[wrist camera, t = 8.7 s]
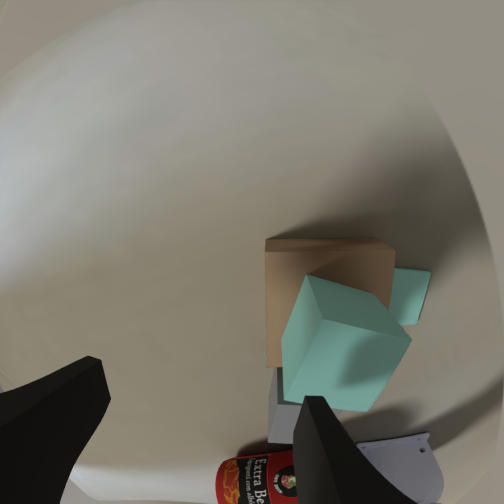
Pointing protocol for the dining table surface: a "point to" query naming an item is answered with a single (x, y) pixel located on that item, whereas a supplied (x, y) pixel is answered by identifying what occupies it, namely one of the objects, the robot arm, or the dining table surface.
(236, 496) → the canned food
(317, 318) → the teal block
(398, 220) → the dining table surface
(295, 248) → the walnut base
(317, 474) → the robot arm
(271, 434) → the grey block
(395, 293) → the swatch
